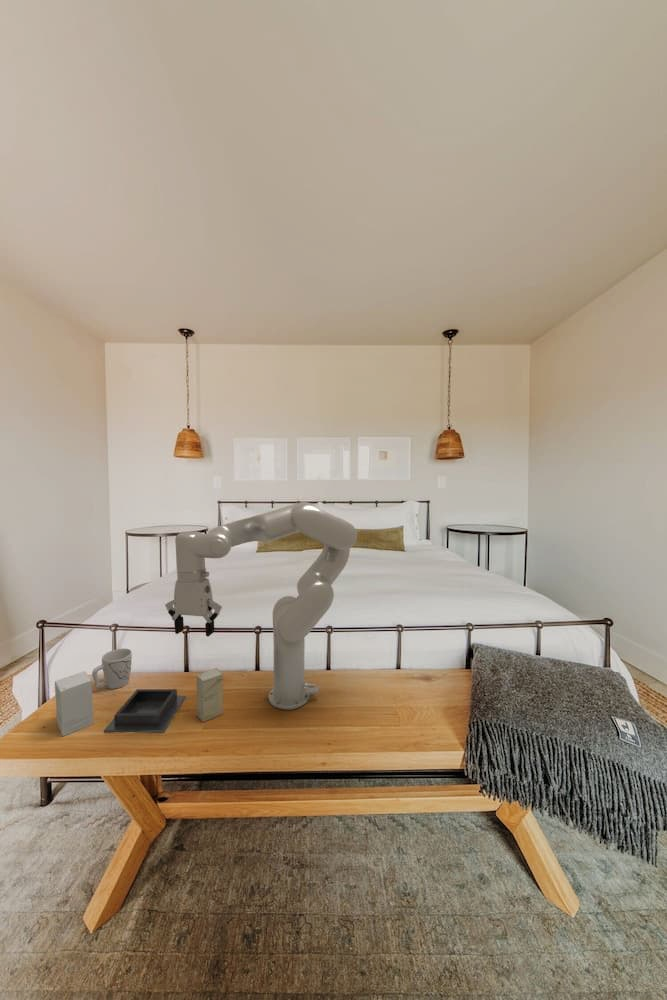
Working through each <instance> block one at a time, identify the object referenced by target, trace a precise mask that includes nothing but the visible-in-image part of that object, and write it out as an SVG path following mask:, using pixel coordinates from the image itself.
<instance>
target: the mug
mask: <svg viewBox="0 0 667 1000" xmlns="http://www.w3.org/2000/svg"><path fill="white" fill-rule="evenodd" d="M132 655H133V653H132V650H131V649H129V648H116V649H112V650H110V651H107V652H106V653H104V654H103V655H102V657H101V664H100V665H98V666H96V667H94V669H93V670H92V672H91V676H92V679H93V682H94V685H95V686H96V687H97V688H102V687H105V686H107V688H108V689H111V690H116V688H117V689H121V688H123V687H125V686H127V684H128V683H129V682H130V677H131V671H132ZM101 670H102V671H103V677H104V680H103V681H102V682H100V680H99V677H98V673H99V671H101ZM120 687H121V688H120Z"/></svg>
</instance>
